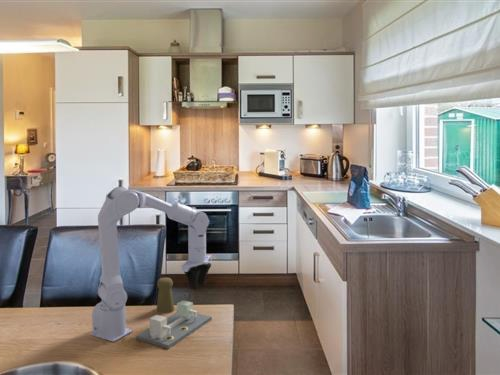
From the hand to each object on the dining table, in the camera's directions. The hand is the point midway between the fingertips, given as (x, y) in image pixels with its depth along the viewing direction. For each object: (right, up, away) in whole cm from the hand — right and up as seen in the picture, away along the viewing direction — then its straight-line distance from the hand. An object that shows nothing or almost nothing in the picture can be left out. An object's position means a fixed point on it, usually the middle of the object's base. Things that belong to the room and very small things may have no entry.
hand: (197, 286), depth 150 cm
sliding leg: (-2, -9, -6) cm, 11 cm away
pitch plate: (-6, -11, -10) cm, 16 cm away
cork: (-11, -9, +4) cm, 15 cm away
